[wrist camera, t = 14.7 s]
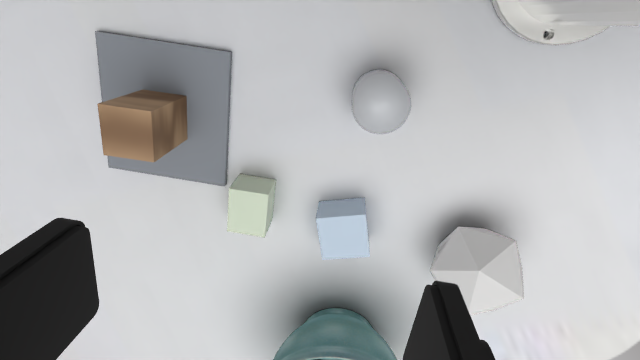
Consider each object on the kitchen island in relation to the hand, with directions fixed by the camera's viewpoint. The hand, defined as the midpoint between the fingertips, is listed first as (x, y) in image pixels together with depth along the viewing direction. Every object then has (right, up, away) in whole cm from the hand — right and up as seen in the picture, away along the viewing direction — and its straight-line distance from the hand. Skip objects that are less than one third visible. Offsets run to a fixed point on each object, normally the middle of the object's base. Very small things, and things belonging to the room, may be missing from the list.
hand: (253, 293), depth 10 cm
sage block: (-5, +1, +31) cm, 32 cm away
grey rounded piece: (+7, +11, +25) cm, 29 cm away
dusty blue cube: (+5, -1, +31) cm, 32 cm away
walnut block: (-14, +10, +27) cm, 32 cm away
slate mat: (-14, +10, +28) cm, 33 cm away
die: (+18, -4, +31) cm, 36 cm away
